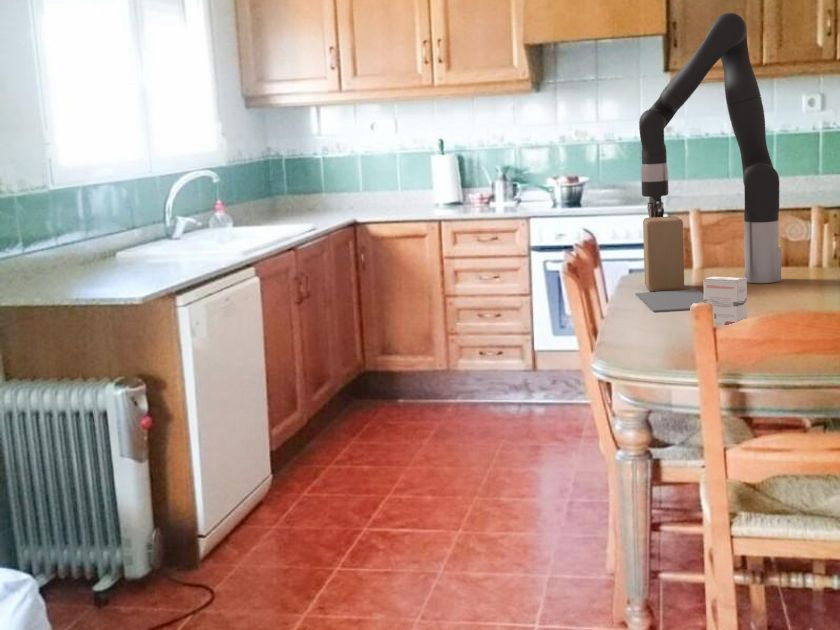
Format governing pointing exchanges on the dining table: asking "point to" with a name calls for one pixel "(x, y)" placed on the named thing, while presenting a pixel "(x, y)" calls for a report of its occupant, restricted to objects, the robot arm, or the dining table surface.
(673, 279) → the wooden block
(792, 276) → the dining table surface
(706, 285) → the ink box
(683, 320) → the dining table surface
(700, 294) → the rubber mat
